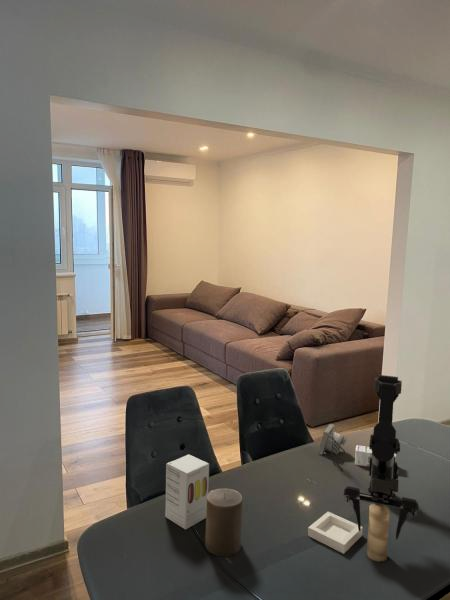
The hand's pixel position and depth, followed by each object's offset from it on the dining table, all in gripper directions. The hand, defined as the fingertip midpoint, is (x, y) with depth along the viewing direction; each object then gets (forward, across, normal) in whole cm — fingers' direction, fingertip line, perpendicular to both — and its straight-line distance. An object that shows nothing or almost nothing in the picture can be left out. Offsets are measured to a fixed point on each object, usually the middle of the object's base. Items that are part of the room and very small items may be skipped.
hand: (377, 534), depth 117 cm
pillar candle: (+12, -39, -3) cm, 41 cm away
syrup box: (-37, +4, +42) cm, 57 cm away
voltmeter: (-34, -18, +43) cm, 58 cm away
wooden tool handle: (+4, 0, +6) cm, 7 cm away
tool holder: (+1, -11, +9) cm, 14 cm away
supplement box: (+7, -54, +3) cm, 54 cm away
